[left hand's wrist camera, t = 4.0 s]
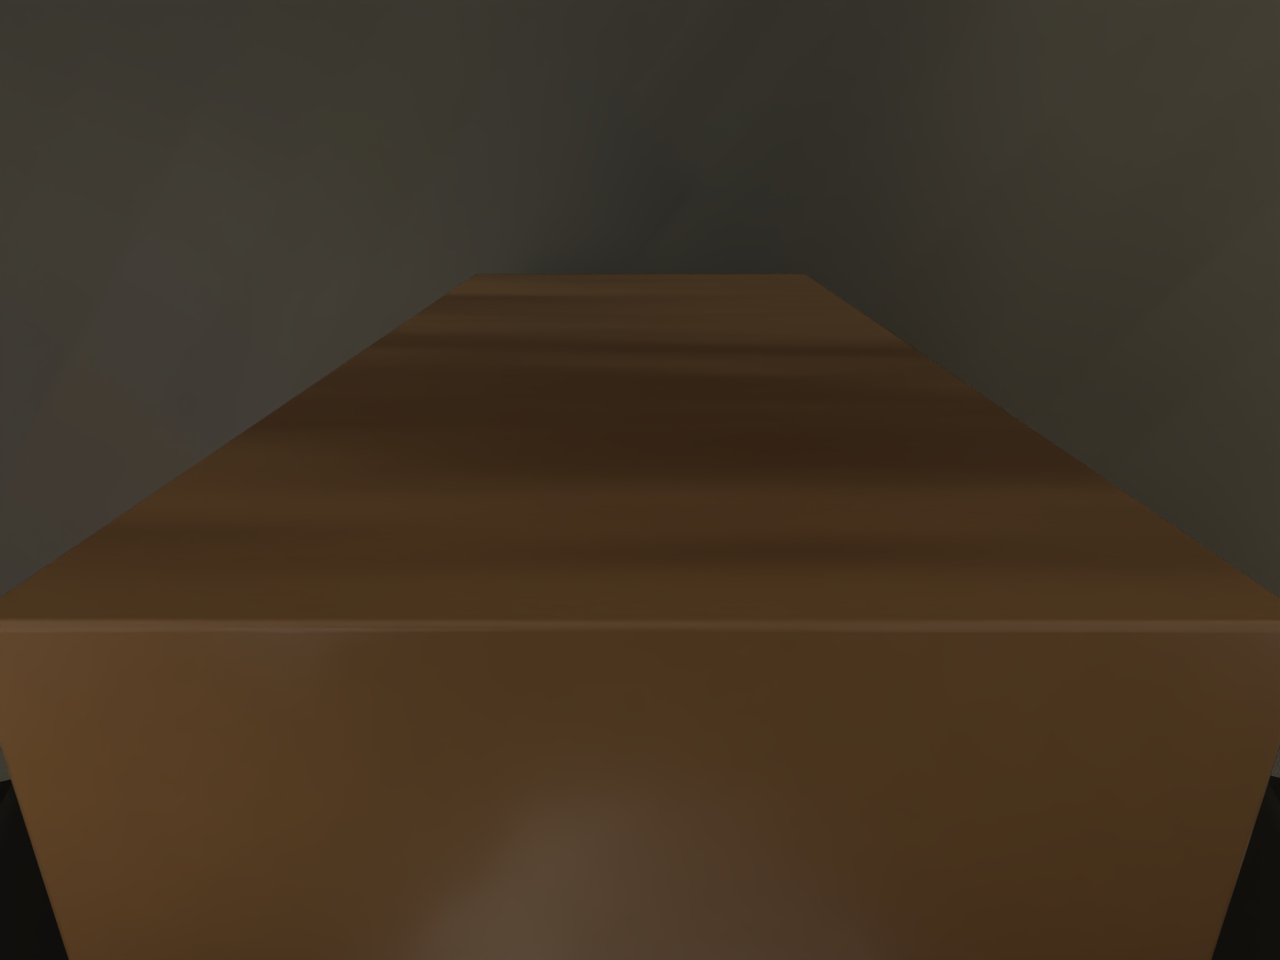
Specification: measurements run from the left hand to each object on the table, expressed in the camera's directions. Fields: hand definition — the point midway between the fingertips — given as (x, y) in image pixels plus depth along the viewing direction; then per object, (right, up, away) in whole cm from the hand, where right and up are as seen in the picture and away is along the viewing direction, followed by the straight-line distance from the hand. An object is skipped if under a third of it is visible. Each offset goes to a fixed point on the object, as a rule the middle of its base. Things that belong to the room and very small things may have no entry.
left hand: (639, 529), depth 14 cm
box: (0, -5, +5) cm, 7 cm away
